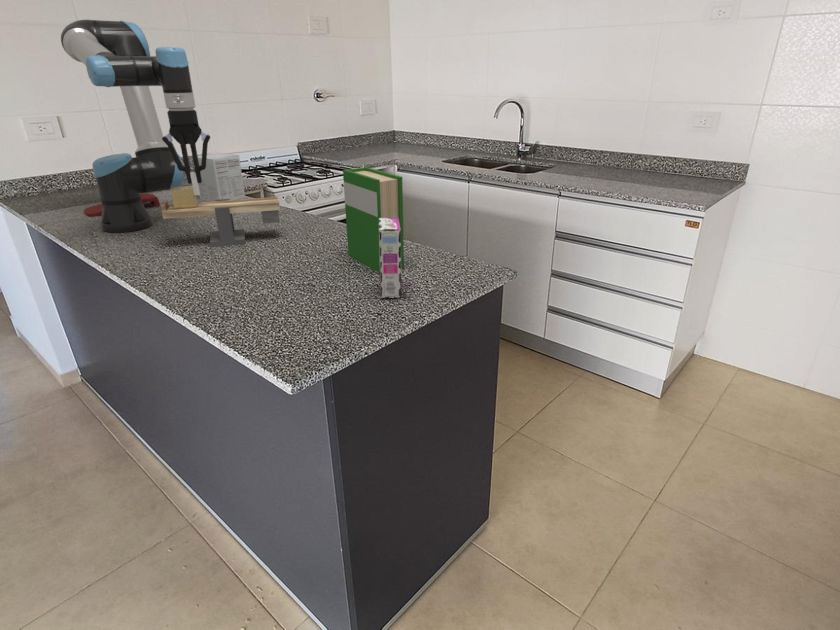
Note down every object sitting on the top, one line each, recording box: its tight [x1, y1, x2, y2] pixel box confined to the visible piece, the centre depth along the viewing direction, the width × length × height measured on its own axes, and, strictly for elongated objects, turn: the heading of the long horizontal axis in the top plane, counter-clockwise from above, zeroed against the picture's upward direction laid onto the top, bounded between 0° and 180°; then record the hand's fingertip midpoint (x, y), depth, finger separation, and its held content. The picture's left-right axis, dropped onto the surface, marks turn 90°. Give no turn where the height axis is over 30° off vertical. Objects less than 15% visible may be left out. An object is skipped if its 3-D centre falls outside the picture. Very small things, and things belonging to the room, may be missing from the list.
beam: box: [160, 196, 281, 225], centre depth 159 cm, size 10×33×8 cm, turn 108°
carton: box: [82, 192, 162, 218], centre depth 200 cm, size 12×5×25 cm
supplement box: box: [191, 152, 246, 202], centre depth 213 cm, size 13×13×18 cm
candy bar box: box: [379, 218, 402, 299], centre depth 121 cm, size 11×5×16 cm, turn 5°
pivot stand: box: [209, 199, 246, 248], centre depth 160 cm, size 12×10×12 cm
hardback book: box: [342, 167, 405, 274], centre depth 138 cm, size 18×7×24 cm, turn 34°
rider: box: [169, 185, 198, 210], centre depth 154 cm, size 5×6×6 cm
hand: (197, 194), depth 154 cm, fingers closed
